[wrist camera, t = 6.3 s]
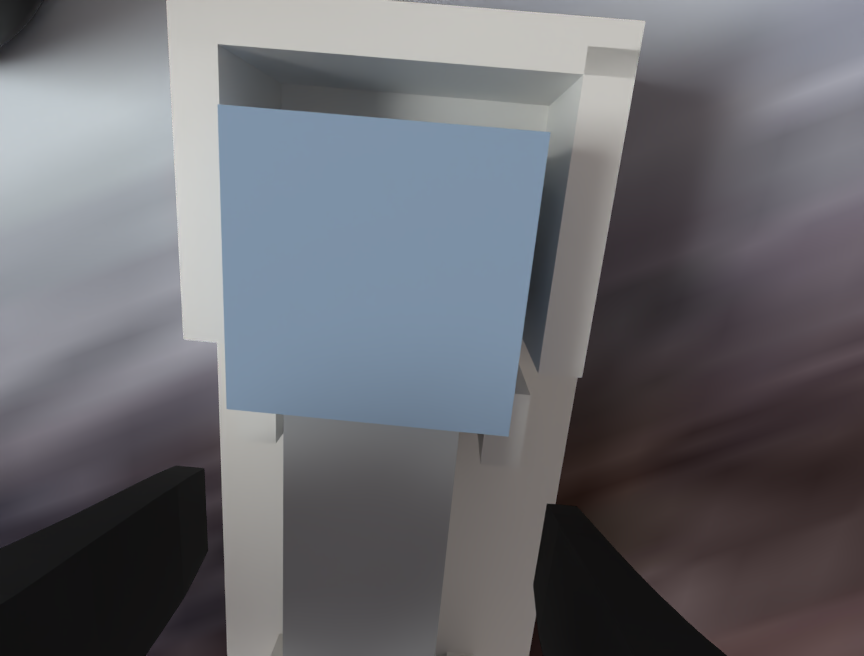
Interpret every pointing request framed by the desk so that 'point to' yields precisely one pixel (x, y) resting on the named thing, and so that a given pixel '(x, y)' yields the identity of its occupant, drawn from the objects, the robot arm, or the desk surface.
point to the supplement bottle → (15, 17)
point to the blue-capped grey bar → (372, 344)
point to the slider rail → (550, 277)
